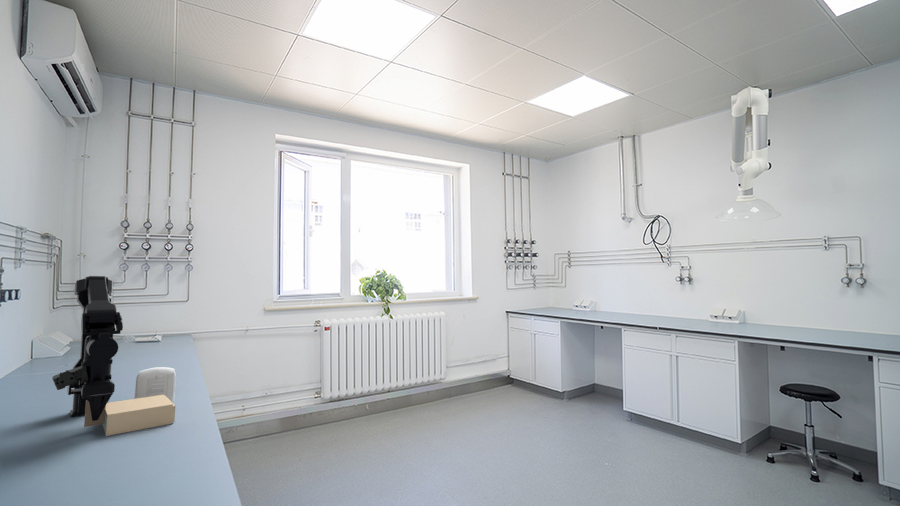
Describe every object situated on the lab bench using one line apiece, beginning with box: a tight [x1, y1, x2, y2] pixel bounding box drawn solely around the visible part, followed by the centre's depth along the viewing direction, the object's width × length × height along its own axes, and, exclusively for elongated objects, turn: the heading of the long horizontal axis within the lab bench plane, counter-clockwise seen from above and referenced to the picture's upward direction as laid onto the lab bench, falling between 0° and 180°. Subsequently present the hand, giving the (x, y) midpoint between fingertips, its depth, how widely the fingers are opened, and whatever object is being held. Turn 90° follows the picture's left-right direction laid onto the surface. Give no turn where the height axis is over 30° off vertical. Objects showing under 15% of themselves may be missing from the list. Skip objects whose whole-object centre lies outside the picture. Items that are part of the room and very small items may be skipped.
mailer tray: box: [83, 400, 107, 432], centre depth 114 cm, size 12×18×7 cm, turn 133°
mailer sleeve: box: [101, 395, 176, 437], centre depth 115 cm, size 14×15×5 cm
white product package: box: [134, 366, 177, 405], centre depth 130 cm, size 10×4×12 cm, turn 123°
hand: (93, 416), depth 109 cm, fingers open, 8 cm apart
